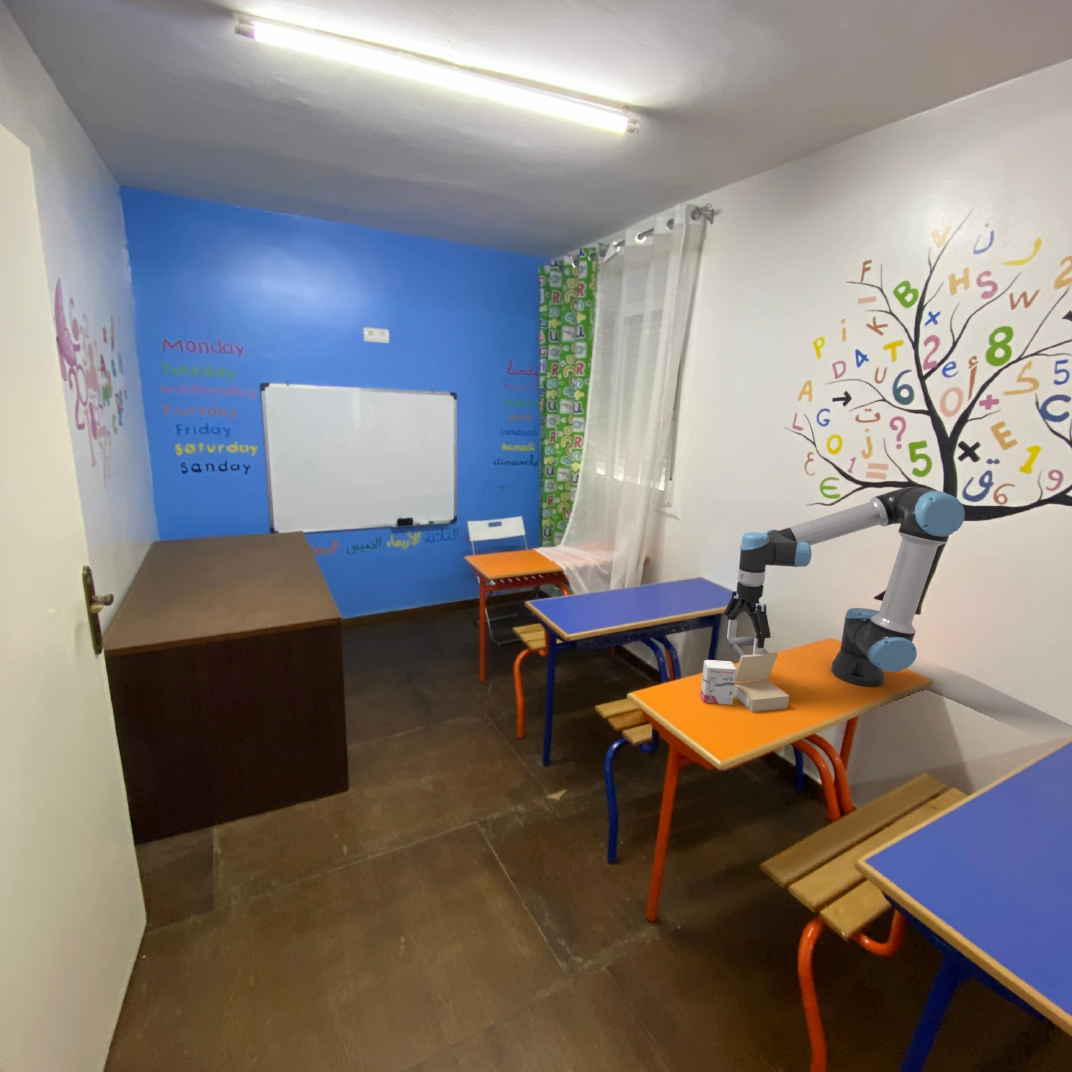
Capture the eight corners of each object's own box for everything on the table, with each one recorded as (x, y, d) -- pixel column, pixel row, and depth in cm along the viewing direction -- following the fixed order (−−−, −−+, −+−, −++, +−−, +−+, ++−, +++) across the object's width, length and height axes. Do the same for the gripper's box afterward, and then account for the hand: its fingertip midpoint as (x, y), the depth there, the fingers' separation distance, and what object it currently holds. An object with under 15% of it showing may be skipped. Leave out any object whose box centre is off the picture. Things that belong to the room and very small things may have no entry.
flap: (768, 678, 166) (750, 657, 174) (777, 654, 161) (759, 633, 169) (733, 682, 163) (717, 660, 171) (742, 657, 158) (725, 636, 166)
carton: (765, 690, 167) (767, 679, 166) (787, 707, 158) (789, 695, 157) (731, 694, 164) (732, 683, 163) (751, 712, 155) (752, 700, 154)
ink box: (703, 703, 159) (706, 666, 156) (699, 695, 164) (703, 659, 161) (732, 705, 158) (737, 668, 156) (728, 696, 163) (732, 661, 160)
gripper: (716, 572, 174) (711, 632, 179) (765, 597, 150) (758, 666, 155) (737, 570, 176) (731, 630, 181) (788, 595, 152) (780, 663, 157)
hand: (743, 647), depth 168 cm, fingers open, 13 cm apart
